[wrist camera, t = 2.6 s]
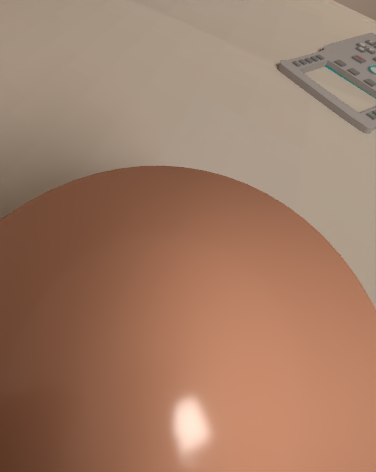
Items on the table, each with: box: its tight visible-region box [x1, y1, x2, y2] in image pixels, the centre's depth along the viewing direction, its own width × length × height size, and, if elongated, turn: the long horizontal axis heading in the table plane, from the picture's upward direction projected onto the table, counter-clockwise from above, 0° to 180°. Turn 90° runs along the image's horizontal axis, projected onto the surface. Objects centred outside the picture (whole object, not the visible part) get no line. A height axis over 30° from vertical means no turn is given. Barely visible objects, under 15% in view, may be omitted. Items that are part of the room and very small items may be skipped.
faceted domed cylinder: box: [0, 166, 376, 472], centre depth 9 cm, size 7×7×12 cm
